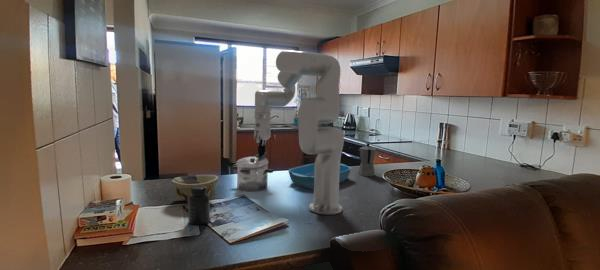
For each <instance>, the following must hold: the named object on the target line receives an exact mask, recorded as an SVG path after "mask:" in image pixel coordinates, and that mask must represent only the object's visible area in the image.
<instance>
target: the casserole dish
mask: <svg viewBox="0 0 600 270" xmlns="http://www.w3.org/2000/svg"><path fill="white" fill-rule="evenodd" d="M314 170H315V162H314V163H309V164H303V165H301V166H296V167H292V168H289V169H288V174H289V177H290V181H291V182H292V183H293V184H294V185H296V186H299V187H300V186H301V187H303V188H308V189H313V190H314ZM351 170H352V167H351V166H349V165H346V164H344V163H340V175H339V184H340V183H342V182H344V181H346V180H347V179H348V178H349V175H350V173H351Z"/></svg>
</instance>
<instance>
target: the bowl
mask: <svg viewBox="0 0 600 270" xmlns="http://www.w3.org/2000/svg"><path fill="white" fill-rule="evenodd" d="M218 179H219V176H218V175H216V174H194V175H192V174H191V175H182V176H178V177H174V178H173V179H171V182H172V185H173V186H175V188H174V193H175V195H176V196H177V197H178V198H179V199H182V200H184V202H186V203H188V197H189V196H190V195H191V187H193V186H197V185H203V186H206V194H208V195H209V201H210V200H212V199H214V197H215V194H216V189H215V188H216V187H215V186H214V185H215V184H216V183H218Z"/></svg>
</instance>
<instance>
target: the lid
mask: <svg viewBox="0 0 600 270" xmlns="http://www.w3.org/2000/svg"><path fill="white" fill-rule="evenodd" d="M266 157H267V152H265V153H264V154H260V153H257V154H256V155H255V156H246V157H242V158H240V159H237V160H236V166H238V167H241V168H247V169H253V168H260V167H264V166H266V165H267V166H268V165H269V159H268V158H266Z"/></svg>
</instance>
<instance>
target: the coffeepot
mask: <svg viewBox="0 0 600 270" xmlns="http://www.w3.org/2000/svg"><path fill="white" fill-rule="evenodd" d="M358 150H359V156H360V164H359V169H358V173H357V174H358V175H359V176H361V175H362V177H368V176H370V177H374V176H375V175H376V173H375V163H374V160H375V159H376V158H375V157H376V153H377V148H375V147H372V146H370V143H369V142H366V146H362V147H359V149H358Z"/></svg>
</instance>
